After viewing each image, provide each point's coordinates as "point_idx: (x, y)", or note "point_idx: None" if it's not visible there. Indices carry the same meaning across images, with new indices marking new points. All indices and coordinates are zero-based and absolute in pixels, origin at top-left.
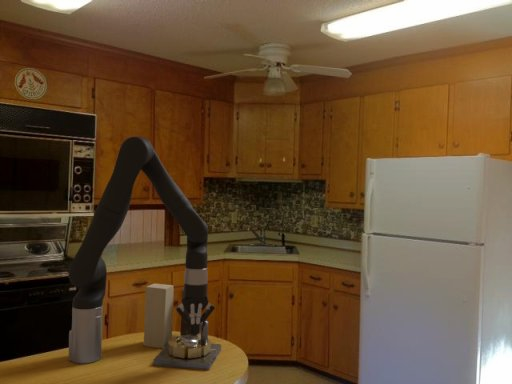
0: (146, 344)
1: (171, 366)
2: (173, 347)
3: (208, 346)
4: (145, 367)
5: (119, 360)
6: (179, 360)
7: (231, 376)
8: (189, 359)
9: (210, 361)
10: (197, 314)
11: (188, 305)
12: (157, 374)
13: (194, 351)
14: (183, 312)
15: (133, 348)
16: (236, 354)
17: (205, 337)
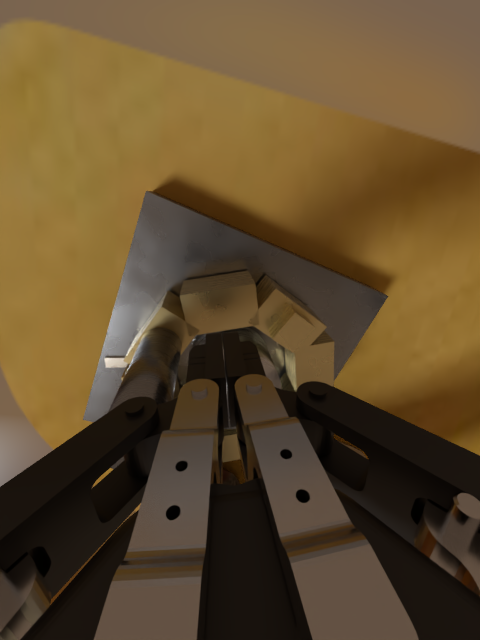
0: (357, 452)
1: (312, 261)
2: (323, 323)
3: (138, 336)
4: (405, 274)
5: (465, 349)
6: (288, 262)
7: (28, 67)
8: (241, 267)
9: (138, 220)
10: (209, 450)
11: (428, 632)
12: (382, 189)
13: (218, 283)
14: (379, 508)
15: None
16: (19, 353)
17: (146, 349)
